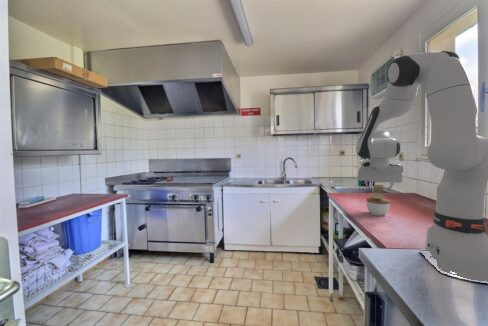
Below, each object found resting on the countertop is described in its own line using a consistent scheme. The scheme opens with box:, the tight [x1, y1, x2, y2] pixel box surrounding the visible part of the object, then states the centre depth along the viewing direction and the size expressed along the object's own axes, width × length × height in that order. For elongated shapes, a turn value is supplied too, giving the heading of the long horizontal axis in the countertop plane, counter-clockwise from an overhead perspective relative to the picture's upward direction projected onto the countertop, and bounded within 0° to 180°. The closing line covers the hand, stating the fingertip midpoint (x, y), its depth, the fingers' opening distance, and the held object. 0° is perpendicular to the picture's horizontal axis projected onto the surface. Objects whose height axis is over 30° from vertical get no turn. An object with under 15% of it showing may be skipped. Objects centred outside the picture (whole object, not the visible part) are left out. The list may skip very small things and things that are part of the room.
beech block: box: [372, 182, 384, 199], centre depth 126 cm, size 12×4×6 cm, turn 150°
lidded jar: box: [366, 196, 391, 217], centre depth 127 cm, size 11×11×9 cm
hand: (378, 190), depth 126 cm, fingers open, 8 cm apart
